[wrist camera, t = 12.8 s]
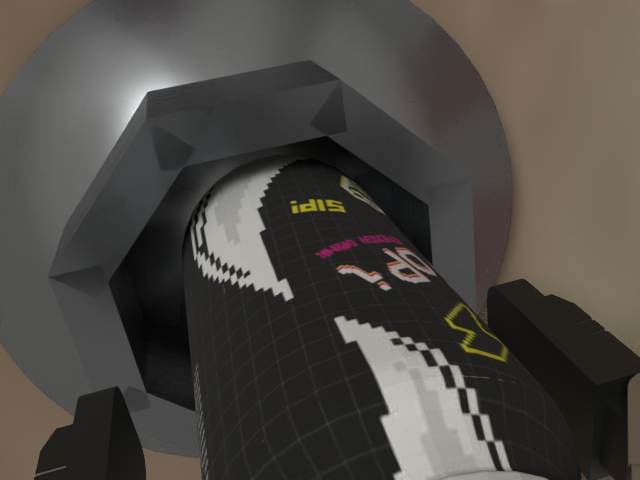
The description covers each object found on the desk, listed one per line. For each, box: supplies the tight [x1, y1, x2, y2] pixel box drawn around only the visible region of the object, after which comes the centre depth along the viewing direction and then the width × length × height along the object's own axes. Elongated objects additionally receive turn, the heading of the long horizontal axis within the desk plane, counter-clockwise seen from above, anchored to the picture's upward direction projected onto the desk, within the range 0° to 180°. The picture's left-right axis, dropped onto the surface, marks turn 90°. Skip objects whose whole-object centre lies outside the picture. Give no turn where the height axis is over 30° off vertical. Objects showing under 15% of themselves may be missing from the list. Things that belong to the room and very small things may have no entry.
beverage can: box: [182, 155, 581, 480], centre depth 13 cm, size 6×6×12 cm
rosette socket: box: [0, 0, 512, 458], centre depth 18 cm, size 16×16×4 cm
